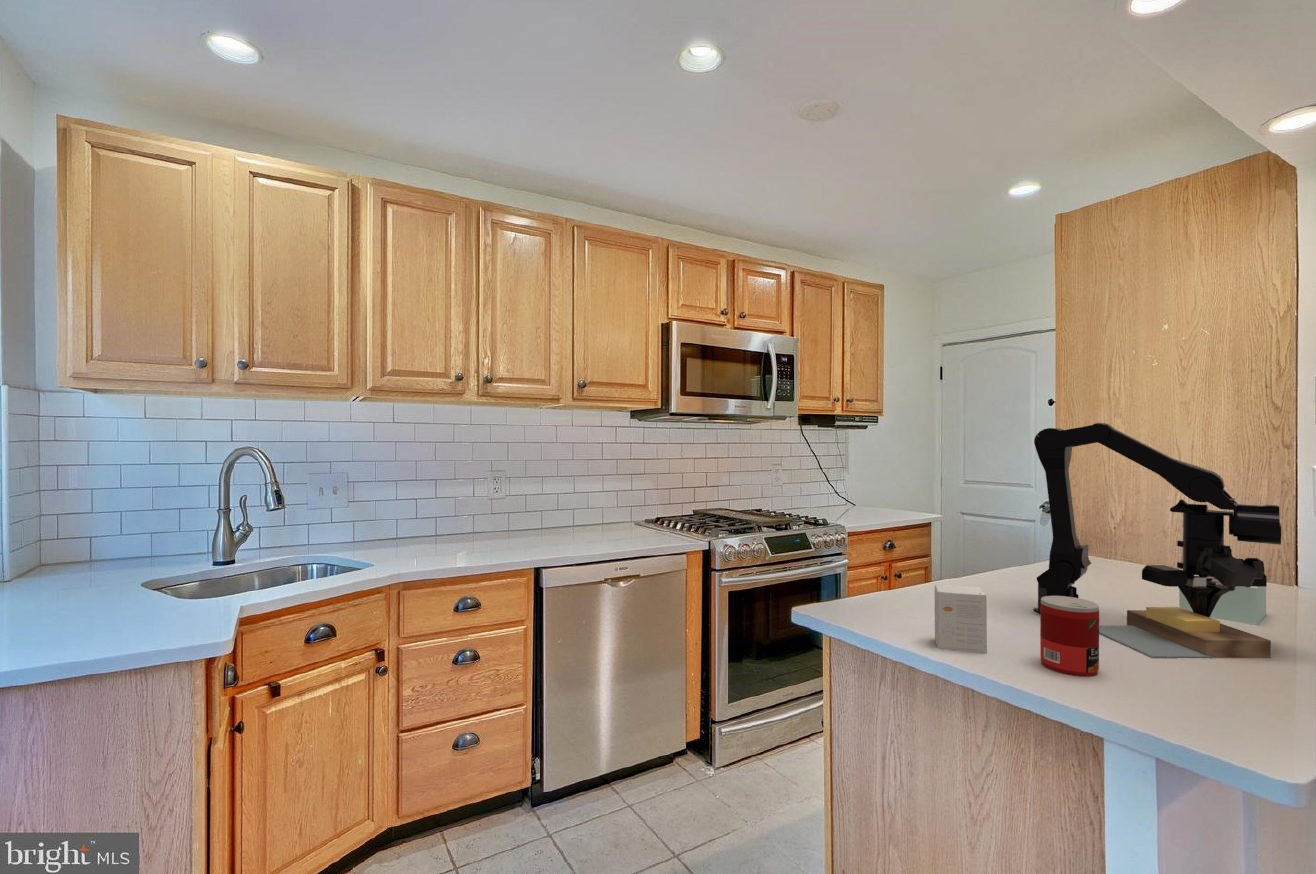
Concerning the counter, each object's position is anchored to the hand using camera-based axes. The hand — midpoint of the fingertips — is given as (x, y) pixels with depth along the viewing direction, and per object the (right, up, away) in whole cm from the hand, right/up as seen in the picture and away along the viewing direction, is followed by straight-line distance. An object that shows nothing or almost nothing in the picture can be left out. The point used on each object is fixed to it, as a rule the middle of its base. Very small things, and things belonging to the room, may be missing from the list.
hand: (1202, 621), depth 115 cm
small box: (-47, -4, -4) cm, 47 cm away
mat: (-12, -3, -1) cm, 12 cm away
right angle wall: (+20, -4, +17) cm, 27 cm away
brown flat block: (-2, -3, 0) cm, 4 cm away
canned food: (-34, -4, -14) cm, 37 cm away
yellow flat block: (-4, 0, 0) cm, 4 cm away
